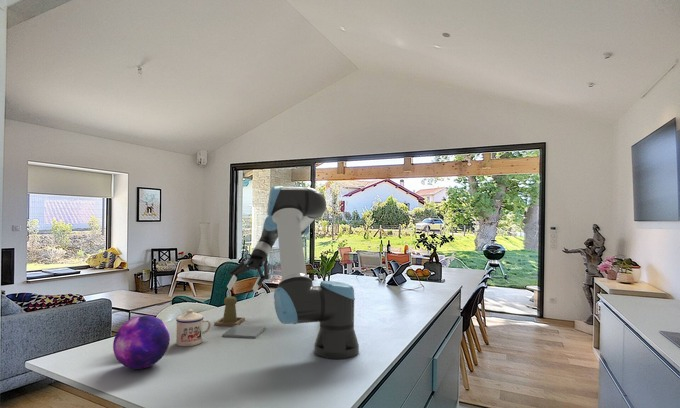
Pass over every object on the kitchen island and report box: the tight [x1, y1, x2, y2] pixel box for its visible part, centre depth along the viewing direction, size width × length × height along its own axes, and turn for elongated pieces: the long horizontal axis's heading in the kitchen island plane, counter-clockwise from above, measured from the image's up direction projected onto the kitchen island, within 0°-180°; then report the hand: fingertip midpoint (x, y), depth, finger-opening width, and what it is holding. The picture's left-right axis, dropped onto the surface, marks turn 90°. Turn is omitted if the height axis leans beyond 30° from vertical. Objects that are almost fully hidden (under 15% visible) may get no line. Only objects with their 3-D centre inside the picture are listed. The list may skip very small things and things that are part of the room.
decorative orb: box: [112, 314, 171, 370], centre depth 114 cm, size 15×15×15 cm
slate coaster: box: [221, 324, 267, 339], centre depth 149 cm, size 13×13×1 cm
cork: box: [222, 296, 238, 323], centre depth 163 cm, size 6×6×11 cm
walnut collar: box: [213, 316, 246, 327], centre depth 163 cm, size 10×10×1 cm
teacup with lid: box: [175, 308, 212, 347], centre depth 137 cm, size 12×9×12 cm
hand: (241, 289), depth 171 cm, fingers open, 13 cm apart
